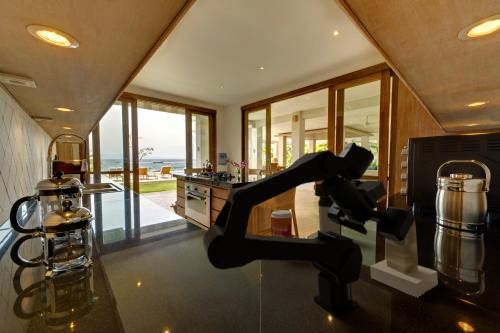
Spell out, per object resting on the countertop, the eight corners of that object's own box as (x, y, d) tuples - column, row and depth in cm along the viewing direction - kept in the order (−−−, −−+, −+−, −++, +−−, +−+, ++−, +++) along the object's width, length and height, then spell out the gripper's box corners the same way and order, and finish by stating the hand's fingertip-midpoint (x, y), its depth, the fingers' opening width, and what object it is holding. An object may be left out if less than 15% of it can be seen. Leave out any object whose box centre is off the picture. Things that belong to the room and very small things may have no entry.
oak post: (404, 274, 48) (401, 218, 48) (386, 266, 52) (383, 215, 52) (418, 271, 49) (414, 216, 49) (399, 263, 53) (396, 213, 54)
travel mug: (336, 241, 80) (333, 195, 81) (316, 237, 85) (314, 194, 86) (343, 236, 86) (340, 193, 86) (324, 232, 91) (322, 192, 92)
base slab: (417, 298, 44) (416, 283, 44) (370, 277, 52) (370, 266, 53) (437, 284, 48) (436, 271, 49) (392, 267, 57) (391, 256, 57)
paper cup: (268, 252, 71) (266, 212, 72) (280, 246, 77) (278, 209, 77) (287, 258, 66) (285, 215, 66) (299, 251, 72) (297, 211, 72)
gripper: (405, 167, 39) (444, 219, 42) (333, 170, 56) (365, 206, 60) (378, 213, 36) (422, 265, 39) (311, 200, 53) (345, 237, 57)
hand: (383, 238), depth 49 cm, fingers open, 9 cm apart
